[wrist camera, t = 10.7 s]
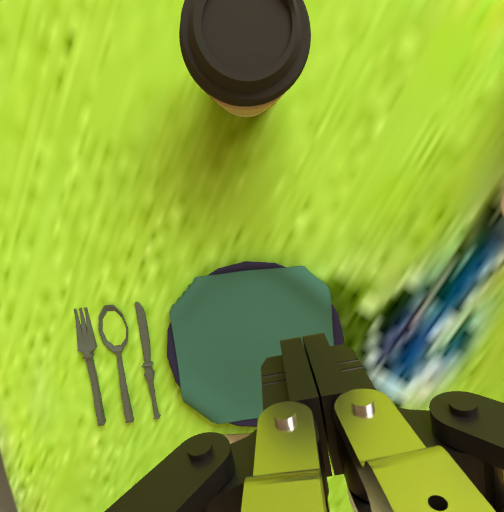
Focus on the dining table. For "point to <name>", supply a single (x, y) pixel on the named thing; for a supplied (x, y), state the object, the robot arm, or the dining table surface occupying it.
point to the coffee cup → (245, 50)
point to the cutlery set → (225, 337)
